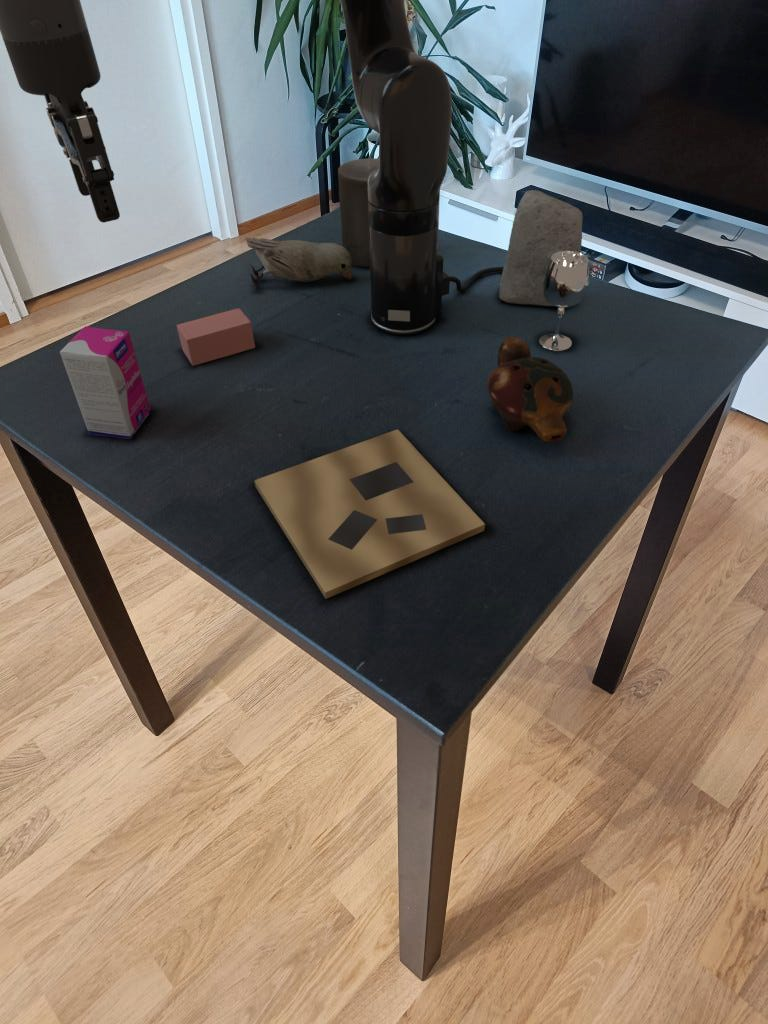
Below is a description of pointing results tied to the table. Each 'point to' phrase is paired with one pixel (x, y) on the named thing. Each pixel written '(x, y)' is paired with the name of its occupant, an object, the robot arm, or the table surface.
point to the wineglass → (564, 291)
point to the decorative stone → (537, 245)
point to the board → (366, 511)
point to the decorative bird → (300, 259)
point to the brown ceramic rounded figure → (530, 391)
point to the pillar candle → (356, 208)
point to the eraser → (216, 336)
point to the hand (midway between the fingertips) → (100, 206)
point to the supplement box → (106, 382)
